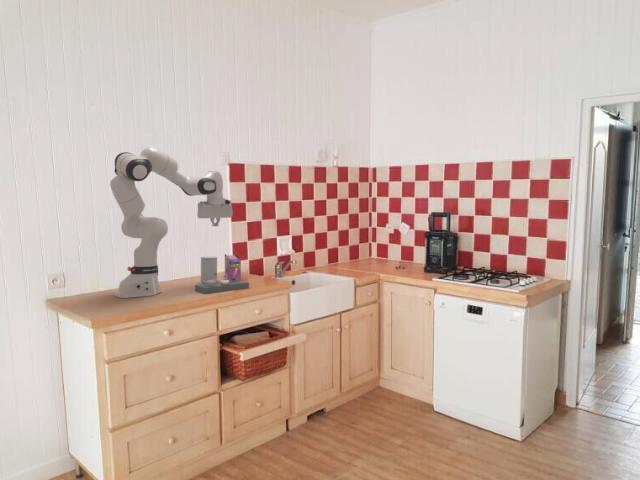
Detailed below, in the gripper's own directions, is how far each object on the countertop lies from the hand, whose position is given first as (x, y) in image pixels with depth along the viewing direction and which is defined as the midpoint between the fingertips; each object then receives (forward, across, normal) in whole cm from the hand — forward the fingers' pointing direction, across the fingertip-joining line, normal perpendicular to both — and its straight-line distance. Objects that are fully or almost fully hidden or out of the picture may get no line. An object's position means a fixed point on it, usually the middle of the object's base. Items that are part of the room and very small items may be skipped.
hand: (215, 226), depth 272 cm
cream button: (+30, -3, -15) cm, 33 cm away
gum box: (+33, +19, +14) cm, 41 cm away
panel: (+33, -3, -12) cm, 35 cm away
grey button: (+29, -11, -15) cm, 34 cm away
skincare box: (+33, +2, +12) cm, 35 cm away
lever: (+29, +6, -8) cm, 31 cm away
